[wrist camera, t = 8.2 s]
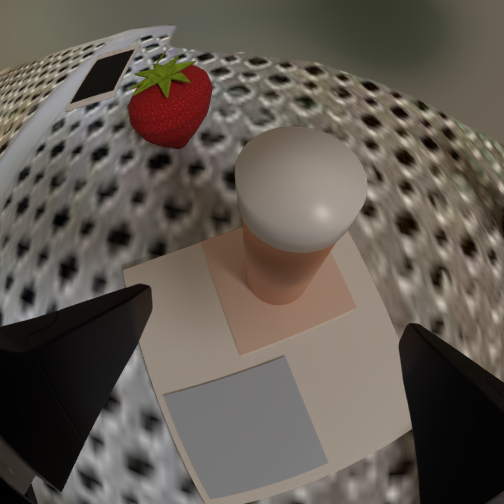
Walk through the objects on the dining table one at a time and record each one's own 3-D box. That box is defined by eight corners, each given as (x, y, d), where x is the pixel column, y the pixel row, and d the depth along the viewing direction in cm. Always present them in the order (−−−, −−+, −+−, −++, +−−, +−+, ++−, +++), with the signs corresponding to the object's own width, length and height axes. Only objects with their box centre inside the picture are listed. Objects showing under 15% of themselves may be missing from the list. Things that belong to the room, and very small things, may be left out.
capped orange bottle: (276, 320, 17) (306, 262, 7) (231, 272, 18) (207, 167, 8) (322, 276, 18) (389, 181, 8) (278, 233, 19) (299, 112, 9)
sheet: (210, 507, 12) (209, 511, 12) (125, 272, 19) (122, 269, 18) (422, 417, 14) (427, 418, 14) (328, 202, 21) (330, 198, 20)
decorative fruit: (231, 125, 24) (224, 30, 15) (190, 186, 21) (158, 82, 12) (179, 113, 25) (158, 29, 16) (134, 167, 22) (91, 79, 13)
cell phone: (141, 46, 34) (140, 43, 33) (115, 99, 28) (113, 96, 27) (100, 57, 33) (99, 55, 33) (65, 114, 27) (63, 111, 27)
